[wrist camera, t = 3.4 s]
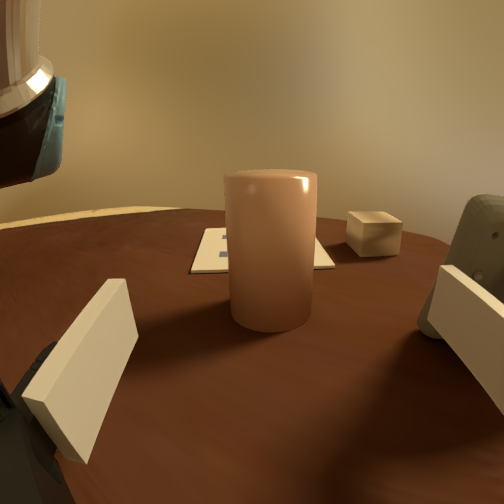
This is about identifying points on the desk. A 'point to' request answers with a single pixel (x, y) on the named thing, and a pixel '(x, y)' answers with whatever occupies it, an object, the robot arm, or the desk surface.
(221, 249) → the letter card
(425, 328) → the digital clock
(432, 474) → the desk surface
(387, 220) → the ash block
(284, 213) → the terracotta canister
